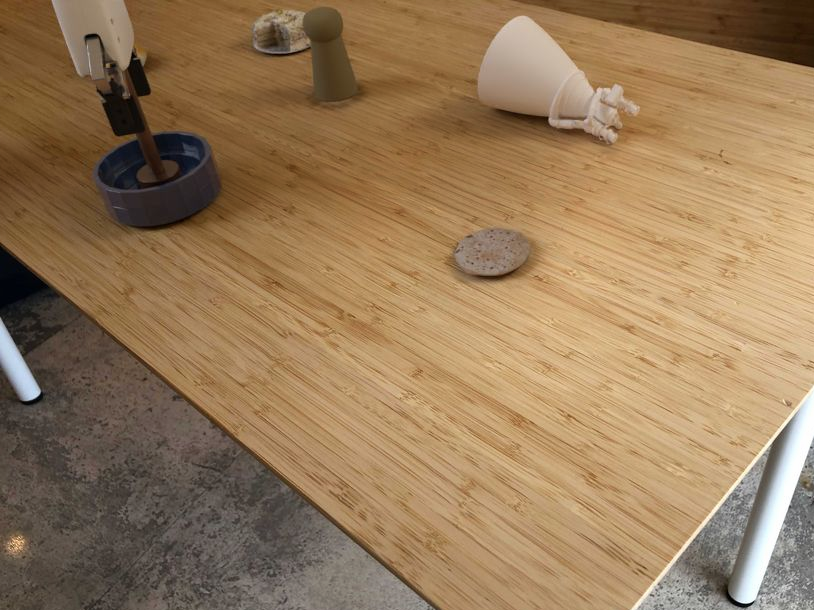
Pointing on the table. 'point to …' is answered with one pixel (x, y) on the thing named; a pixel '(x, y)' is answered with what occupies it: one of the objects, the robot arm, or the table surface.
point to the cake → (280, 32)
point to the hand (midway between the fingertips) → (134, 113)
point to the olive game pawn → (329, 55)
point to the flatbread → (492, 251)
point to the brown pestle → (151, 153)
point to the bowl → (165, 201)
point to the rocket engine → (545, 82)
